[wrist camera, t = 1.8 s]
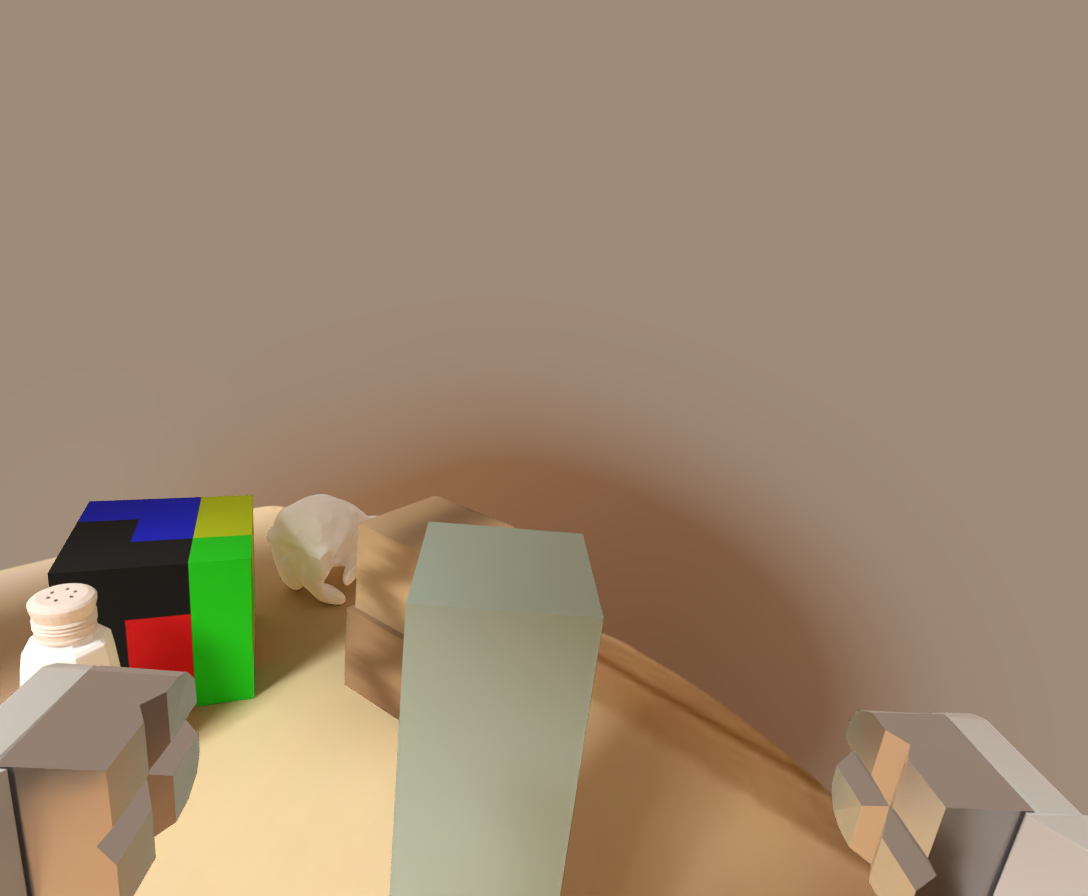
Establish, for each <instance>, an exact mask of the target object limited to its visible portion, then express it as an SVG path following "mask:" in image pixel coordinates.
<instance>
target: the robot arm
mask: <svg viewBox="0 0 1088 896" xmlns="http://www.w3.org/2000/svg"><path fill="white" fill-rule="evenodd" d="M196 703H197V698H196V688H195V679H194V678H193V677H192V676H191V675H190V674H189V673H188V672H180V671H167V670H154V669H141V668H128V667H115V666H102V665H101V666H95V665H84V664H68V663H54V664H51V665H47V666H44V667H42V668H40V669H39V670H38V671H37V672H36V673H35V674H34V675H33V676H32V677H30V678H29V679H28V680H27V681H26V682H25V683H24V684H23V685H22V686H20V687H19V688H18V689H17V690H16V691H15V692H14V693H13V694H12V695H11V696H9V697H8V698H7V699H6V700H5V701H4V702H3V703H2V704H1V705H0V896H134V894H135V892H136V891H137V889H138V887H139V886H140V884H141V882H142V880H143V879H144V877H145V875H146V873H147V872H148V870H149V868H150V867H151V865H152V863H153V861H154V860H155V858H156V855H155V841H154V837H155V836H156V835H158V834H159V833H161V832H162V831H164V830H165V829H166V828H168V827H169V826H171V825H172V824H174V823H175V822H176V821H177V819H178V817H179V816H180V814H181V812H182V810H183V808H184V806H185V805H186V803H187V801H188V799H189V795H190V792H191V789H192V786H193V783H194V780H195V777H196V774H197V768H198V760H199V734H198V733H197V732H196V731H195V729H194V728H193V727H192V726H191V725H190V724H189V723H188V721H187V720H186V718H187V717H188V715H189V714H190V712H191V711H192V709H193V708H194V706H195V705H196ZM845 737H846V739H847V741H848V743H849V745H850V747H851V749H852V752H851V753H850V754H848V755H847V756H846V757H845V758H844V759H843V760H842V761H841V762H840V763H838V764H837V766H836V770H835V774H834V779H833V783H832V787H831V788H832V801H833V811H834V814H835V817H836V820H837V824H838V827H839V829H840V831H841V833H842V835H843V837H844V839H845V840H846V842H847V844H848V846H849V848H851V849H852V850H853V851H855V852H856V853H857V854H858V855H860V856H861V857H862V858H863V859H865V860H866V861H867V862H868V863H870V864H871V868H870V875H869V881H868V882H869V883H870V885H871V887H872V889H873V890H874V892H875V894H876V896H1088V816H1084V815H1082V814H1081V813H1080V812H1079V811H1078V810H1077V809H1076V808H1074V806H1073V805H1072V804H1071V803H1070V802H1069V801H1068V800H1067V799H1066V798H1065V797H1064V796H1063V795H1061V793H1059V792H1058V790H1056V789H1055V788H1054V787H1053V786H1052V785H1051V784H1050V783H1049V782H1048V781H1047V780H1046V779H1045V778H1044V777H1043V776H1042V775H1041V774H1040V773H1039V772H1038V771H1037V770H1036V769H1035V768H1034V767H1033V766H1032V765H1031V764H1030V763H1029V762H1028V761H1027V760H1026V759H1025V758H1024V757H1023V756H1022V755H1021V754H1020V753H1019V752H1018V751H1017V750H1016V749H1015V748H1014V747H1013V746H1012V745H1011V744H1010V743H1009V742H1008V741H1007V740H1006V739H1005V738H1004V737H1003V736H1002V735H1001V734H1000V733H999V732H998V731H997V730H996V729H995V728H994V727H993V726H992V725H991V724H990V723H989V722H988V721H987V720H985V719H983V718H981V717H979V716H977V715H975V714H973V713H937V712H935V713H933V714H927V713H909V712H908V713H907V712H888V711H868V710H858V711H857V712H856V713H855V714H854V716H853V717H852V718H851V719H850V722H849V725H848V728H847V731H846V734H845Z"/></svg>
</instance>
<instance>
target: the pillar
mask: <svg viewBox="0 0 1088 896" xmlns="http://www.w3.org/2000/svg"><path fill="white" fill-rule="evenodd" d="M603 619H604V617H603V613H602V609H601V605H600V601H599V597H598V593H597V589H596V585H595V581H594V577H593V573H592V568H591V564H590V561H589V556H588V552H587V549H586V544H585V540H584V536H583V534H579V533H566V532H554V531H540V530H529V529H517V528H504V527H492V526H479V525H467V524H454V523H442V522H430V521H429V522H428V526H427V530H426V533H425V537H424V540H423V544H422V547H421V551H420V555H419V558H418V562H417V565H416V569H415V572H414V576H413V580H412V583H411V587H410V590H409V594H408V597H407V601H406V607H405V626H404V644H403V662H402V680H401V698H400V716H399V735H398V753H397V771H396V789H395V807H394V826H393V844H392V862H391V880H390V896H560V892H561V886H562V880H563V873H564V867H565V861H566V854H567V848H568V841H569V835H570V829H571V822H572V816H573V810H574V803H575V797H576V791H577V784H578V778H579V772H580V765H581V759H582V753H583V746H584V740H585V734H586V727H587V721H588V715H589V708H590V702H591V696H592V689H593V683H594V676H595V670H596V664H597V657H598V651H599V645H600V638H601V632H602V626H603Z"/></svg>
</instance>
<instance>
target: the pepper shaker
mask: <svg viewBox="0 0 1088 896" xmlns="http://www.w3.org/2000/svg"><path fill="white" fill-rule="evenodd" d="M96 601H97V591H96V590H95V589H94V588H93V587H92V586H89V585H87V584H82V583H67V584H60V585H55V586H52V587H48V588H46V589H43V590H41V591H39V592H37V593H35V594H34V595H33V596H32V597H31V598H30V599H29V600H28V602H27V603H26V609H27V612H28V614H29V615H30V617H31V619H30V624H31V631H32V632H33V636H31V637H30V638H29V640H28V642H27V644H26V646H25V647H24V649H23V651H22V653H21V661H20V686H22V685H23V684H24V683H25V682H26V681H27V680H28V679H29V678H30V677H32V676H33V675H34V674H35V673H36V672H37V671H38V670H39V669H40V668H42V667H44V666H47V665H51V664H54V663H68V664H84V665H95V666H101V665H102V666H115V667H121V666H120V662H119V658H118V654H117V650H116V646H115V641H114V638H113V635H112V632H111V629H109V628H107V627H105V626H103V625H101V624H98V622H97V618H98V613H97V606H96Z"/></svg>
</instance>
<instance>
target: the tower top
mask: <svg viewBox="0 0 1088 896" xmlns="http://www.w3.org/2000/svg"><path fill="white" fill-rule="evenodd" d="M429 521H430V522H442V523H454V524H467V525H479V526H492V527H504V528H515V527H514V526H511V525H509V524H506V523H504V522H501V521H499V520H496V519H494V518H491V517H489V516H486V515H484V514H481V513H479V512H476V511H474V510H471V509H469V508H466V507H464V506H461V505H458V504H456V503H453V502H451V501H448V500H446V499H444V498H441V497H438V496H433V497H430V498H427V499H425V500H421V501H419V502H416V503H413V504H410V505H407V506H404V507H402V508H399V509H396V510H393V511H390V512H387V513H385V514H382V515H379V516H376V517H373V518H370V519H367V520H365V521H362V522H359V523H358V538H357V571H356V603H355V607H356V608H358V609H359V610H361V611H363V612H365V613H366V614H368V615H370V616H372V617H374V618H375V619H377V620H379V621H381V622H382V623H384V624H386V625H388V626H390V627H391V628H393V629H395V630H397V631H398V632H400V633H402V634H404V626H405V607H406V601H407V597H408V594H409V590H410V587H411V583H412V580H413V576H414V572H415V569H416V565H417V562H418V558H419V555H420V551H421V547H422V544H423V540H424V537H425V533H426V530H427V526H428V522H429Z"/></svg>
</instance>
